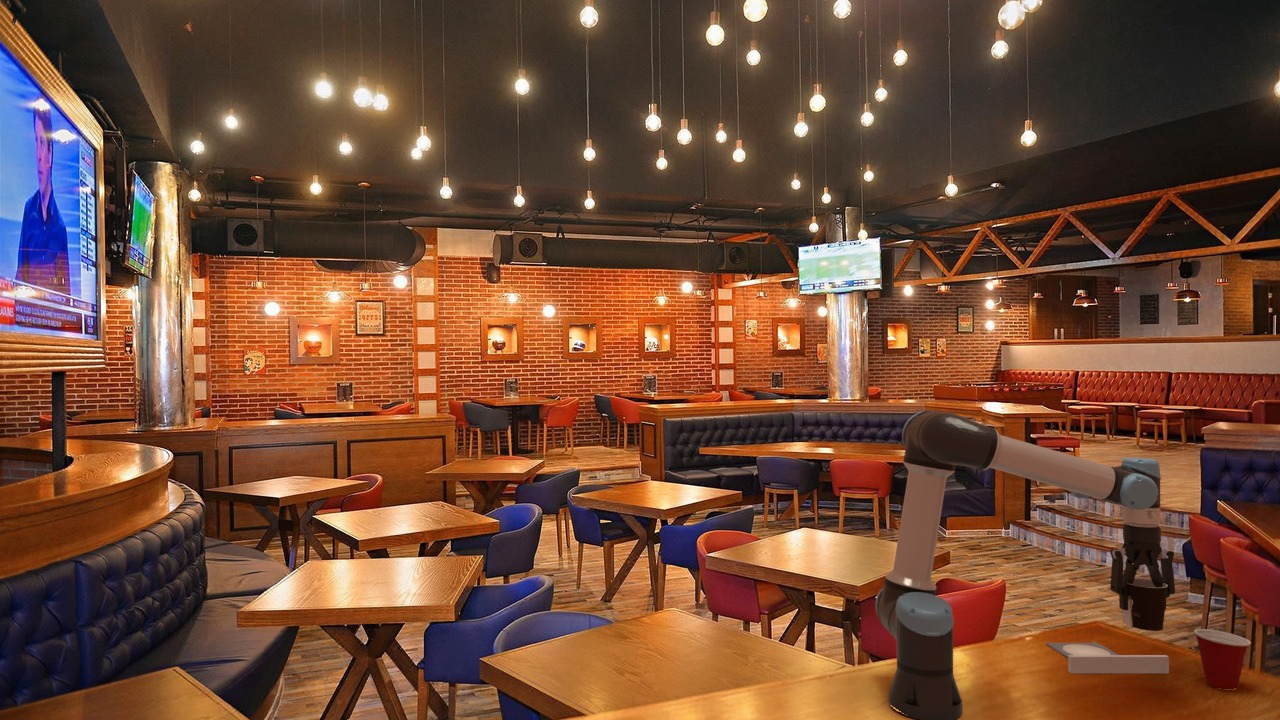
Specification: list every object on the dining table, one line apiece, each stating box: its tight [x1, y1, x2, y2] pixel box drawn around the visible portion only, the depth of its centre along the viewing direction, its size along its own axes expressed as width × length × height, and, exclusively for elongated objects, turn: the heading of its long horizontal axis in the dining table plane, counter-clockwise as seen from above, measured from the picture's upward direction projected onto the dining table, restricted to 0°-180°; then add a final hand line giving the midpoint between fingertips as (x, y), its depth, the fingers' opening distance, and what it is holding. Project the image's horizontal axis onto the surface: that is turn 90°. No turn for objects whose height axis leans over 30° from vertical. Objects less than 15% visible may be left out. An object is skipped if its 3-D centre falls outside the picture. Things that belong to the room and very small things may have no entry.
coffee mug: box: [1125, 578, 1168, 632], centre depth 186 cm, size 12×9×10 cm
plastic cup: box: [1193, 628, 1252, 689], centre depth 186 cm, size 11×11×12 cm
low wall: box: [1067, 654, 1170, 674], centre depth 195 cm, size 24×1×4 cm, turn 90°
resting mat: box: [1045, 642, 1119, 659], centre depth 209 cm, size 14×14×1 cm
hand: (1142, 623), depth 186 cm, fingers closed on coffee mug, 6 cm apart
